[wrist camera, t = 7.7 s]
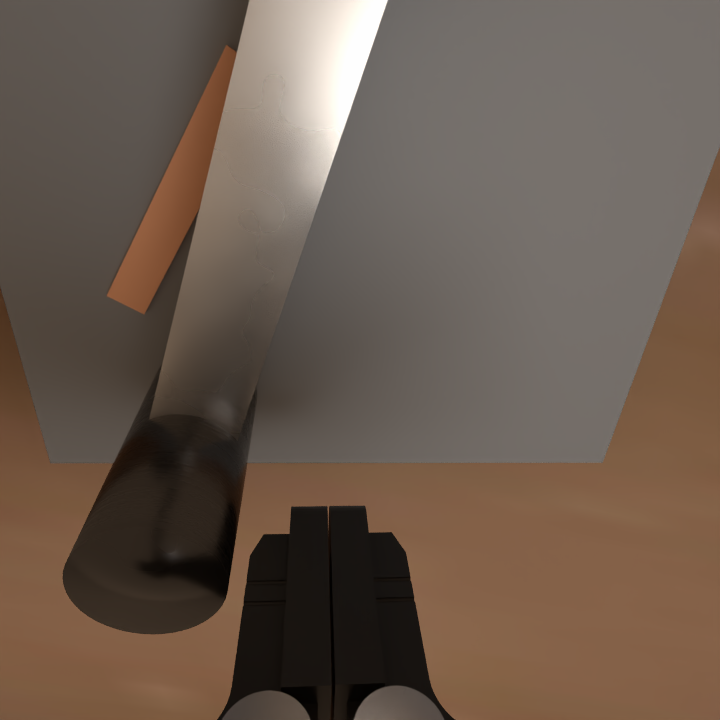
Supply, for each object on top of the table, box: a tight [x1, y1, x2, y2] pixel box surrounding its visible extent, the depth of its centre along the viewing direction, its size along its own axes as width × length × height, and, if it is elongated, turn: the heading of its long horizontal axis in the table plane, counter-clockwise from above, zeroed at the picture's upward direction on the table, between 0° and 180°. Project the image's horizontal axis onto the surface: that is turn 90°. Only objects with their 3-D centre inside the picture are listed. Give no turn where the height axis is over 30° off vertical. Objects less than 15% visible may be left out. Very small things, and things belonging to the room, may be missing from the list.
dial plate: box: [0, 0, 720, 463], centre depth 12 cm, size 20×16×2 cm
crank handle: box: [63, 0, 388, 634], centre depth 8 cm, size 16×5×6 cm, turn 159°
